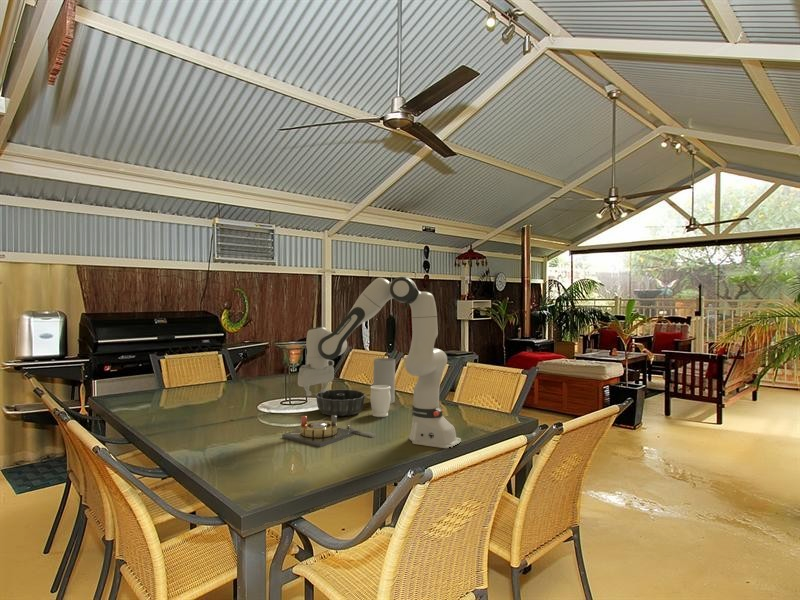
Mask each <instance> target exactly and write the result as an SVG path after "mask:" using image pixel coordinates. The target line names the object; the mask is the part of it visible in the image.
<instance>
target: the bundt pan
mask: <svg viewBox="0 0 800 600" xmlns="http://www.w3.org/2000/svg"><path fill="white" fill-rule="evenodd" d="M366 395H367V394H366V392H365V393H364V392H363V391H359V390H355V389H349V388H348V389H339V388H338V389H326V392H324V393H322V392H321V391H319V392H316V394H315V396H314V397H315V398H316V404H317V409H318V410H319V411H320V413H322V415H326V416H330V417H331V416H332V415H337V417H345V416H347V417H350V416H353V415H356V414H359V413H360V412H361V411H362V409H363V407H364V401H365V398H366Z"/></svg>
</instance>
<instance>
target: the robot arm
mask: <svg viewBox="0 0 800 600" xmlns="http://www.w3.org/2000/svg"><path fill="white" fill-rule="evenodd" d="M390 300H396V301H397V302H399V303H401V304H402V303H403V304H409V307H410V309H411V310H410V311H411V328H412V329H411V331H412V332H411V334H412V337H411V342H410V347H409V352H408V354H407V356H406V357H405V360H404V368H405V370H406V371H407V373H408V374H409V375H411V376H415V377H418V378H417V381H416V383H415V385H414V387H413V401H412V403H413V404H412V410H411V411H412V412H411V415H412V417H411V418H412V424H411V429H410V434H409V437H408V439H409V440H410V441H411V442H412V444H413V445H418V446H419V445H420V446H425V447H434V448H440V449H450V448H449V447H451V448H454V447H453V446H455V445H457V444H459V443H460V442H461V443H462V439H461V437H457V433H456V429H455V426H454V425H453V424H451V422H450V421H449V420H447V419H446V418H445V417H444V416H443V413H444V412H445V409H444V408H443V409H441V407H440V386H441V383H442V378H443V373H444V370H445V368H446V366H447V364H448V355H447V353H446V352H445V351H443V350H442V349H439V348H437V347H435V343H436V341H437V340H436V339H437V337H438V335H439V329H438V328H439V327H438V312H437V310H438V309H437V305H436V304H437V303H436V300H435V296H434V295H433V293H431V292H429V291H420V290H419V289H418V286H417V284H416V283H415V281H414V280H412V278H409V277H406V276H399V277H395V278H394V279H393V280H392V282H391V281H389V280H388V279H386V278H384V277H377V278H376V279H374V280H373V281H372V282H371V283H370V284H369V285H368V286H367V287H366V288H365V289H364V290H363V291H362V293H361V294H359V296H358V297H357V299H356V301H355V302H354V304H353V306H352V308H351V309H350V311H349V312H348V313H347V315H346V316H345V317H344V319H343V320H342V321H341V322H340V323H339V324H338V326H337V327H336V328H335V329H334V330H333V331H331V330H328V329H327V328H326V327H325V326H317V327H312V328H309V329H308V330H307V333H306V341H305V342H306V343H305V344H306V346H305V347H306V357H305V361H306V362H305V364H302V365H300V367H299V370H298V371H299V372H298V375H297V386H298V387H302V388H303V389H304V390H305V395H306V397H312V391H310V389H311V386H315V385H316V386H317V385H320V384H321V385H322V387H321V388H320V392H322V393H324V392H326V391H327V387H328V385H329V382H333V381H334V379H335V368H334V366H335V361H334V360H335V359H336V358H338V357H339V356H341V355H342V354H344V353H346V351H347V349H348V341H347V339H348V338H349V337H350V335H351V334H352V333H353V332H354V331H355V329H356V328H358V327H359V326H360V325H362V324H364V323H365V322H367V321H369V320H372V319H373V318H374V317H375V316H376V315H377V314H379V312H380V311H382V310H381V309H383V307H384V306H385V305H386V304H387V302H389V301H390ZM461 443H460V444H461ZM460 444H459V445H460ZM457 446H458V445H457ZM455 447H456V446H455Z"/></svg>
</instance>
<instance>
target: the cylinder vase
mask: <svg viewBox="0 0 800 600" xmlns="http://www.w3.org/2000/svg"><path fill="white" fill-rule="evenodd" d="M372 379H373V382H372V383H373V385H387V386H391V389H390V394H391V401H390V405H392V404H394V403H395V401H396V400H395V394H396V390H395V388H396V359H394V358H387V357H382V358H381V357H380V358H379V357H378V358H374V359H373V378H372ZM373 385H372V386H373Z"/></svg>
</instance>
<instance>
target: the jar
mask: <svg viewBox="0 0 800 600" xmlns="http://www.w3.org/2000/svg"><path fill="white" fill-rule="evenodd" d="M390 389H391V386H387V385H370V397H369V401H370V408H371V411H372V413H371V416H373V417H375V418H376V417H377V418H384V417H388V416H389V410H390V406H391V404H390V401H391V394H390Z"/></svg>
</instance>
